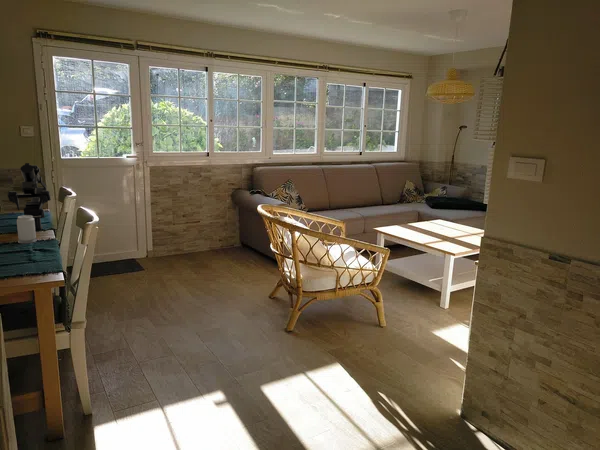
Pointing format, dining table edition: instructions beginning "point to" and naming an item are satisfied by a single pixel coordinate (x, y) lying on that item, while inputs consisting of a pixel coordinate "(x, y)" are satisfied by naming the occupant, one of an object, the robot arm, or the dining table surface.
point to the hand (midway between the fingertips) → (28, 209)
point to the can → (26, 228)
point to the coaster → (27, 241)
